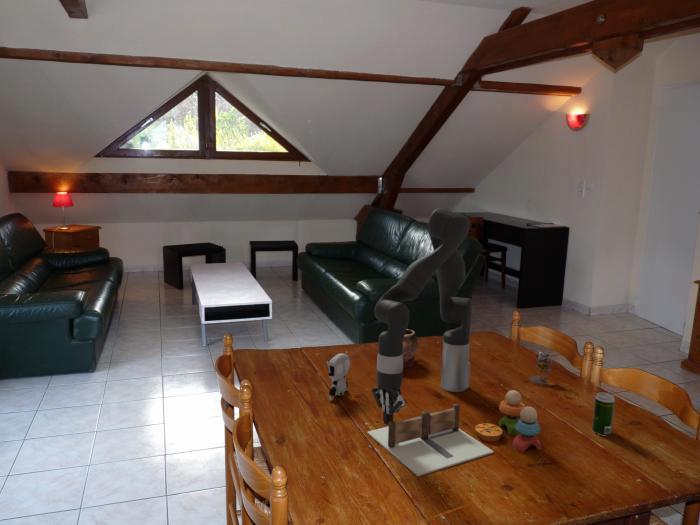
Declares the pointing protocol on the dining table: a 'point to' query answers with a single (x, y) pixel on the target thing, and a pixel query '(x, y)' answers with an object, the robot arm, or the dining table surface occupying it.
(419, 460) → the board
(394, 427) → the panel
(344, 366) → the robot toy
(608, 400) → the beer can
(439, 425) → the fence fixed
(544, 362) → the robot figurine
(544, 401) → the dining table surface
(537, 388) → the dining table surface
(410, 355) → the decorative planter
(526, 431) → the set of stacked toys
